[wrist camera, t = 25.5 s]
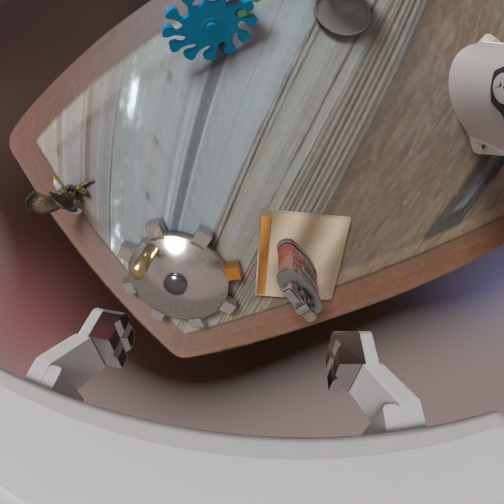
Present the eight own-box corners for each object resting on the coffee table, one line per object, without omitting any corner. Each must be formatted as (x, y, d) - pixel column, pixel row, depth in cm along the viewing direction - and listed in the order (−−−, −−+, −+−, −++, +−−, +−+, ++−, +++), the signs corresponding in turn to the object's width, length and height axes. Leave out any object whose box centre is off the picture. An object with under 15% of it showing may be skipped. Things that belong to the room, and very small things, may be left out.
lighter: (321, 273, 44) (330, 322, 35) (302, 283, 45) (306, 333, 36) (291, 233, 40) (295, 279, 32) (271, 245, 42) (269, 293, 33)
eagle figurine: (81, 157, 37) (44, 179, 29) (104, 197, 40) (72, 226, 33) (52, 180, 39) (16, 204, 31) (73, 216, 42) (42, 246, 35)
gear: (195, 77, 30) (142, 26, 21) (186, 51, 32) (140, 4, 22) (281, 32, 27) (245, -33, 17) (263, 10, 28) (228, -46, 19)
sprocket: (198, 195, 39) (182, 221, 33) (264, 301, 48) (262, 337, 42) (99, 249, 45) (77, 277, 39) (167, 331, 54) (156, 362, 48)
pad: (349, 216, 39) (351, 220, 38) (330, 295, 47) (331, 301, 46) (260, 208, 40) (260, 212, 39) (255, 290, 48) (254, 295, 46)
